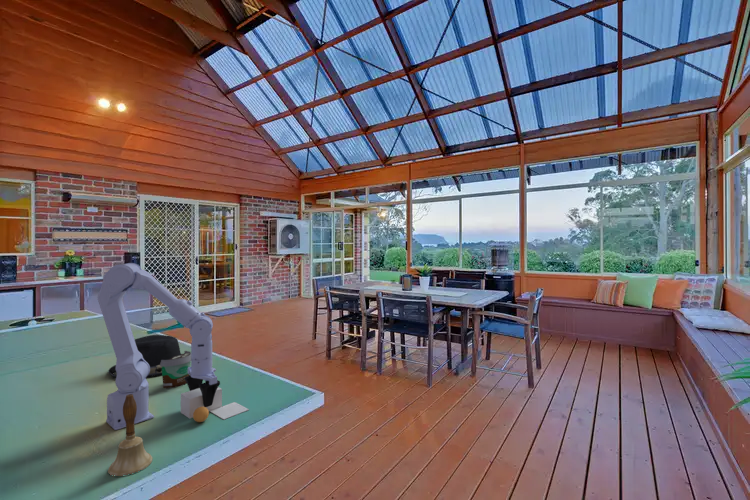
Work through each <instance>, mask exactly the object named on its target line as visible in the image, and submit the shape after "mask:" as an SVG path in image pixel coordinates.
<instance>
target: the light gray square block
mask: <svg viewBox="0 0 750 500" xmlns="http://www.w3.org/2000/svg"><path fill="white" fill-rule="evenodd" d="M249 410H250V409H249V408H247V407H245V406H244V405H241V404H239V403H238V402H235V401H233V402H230V403H228V404H225V405H222V407H219V408H216V409H214V410H211V411H209V413H211V414H213V415H215V416H217V417H219V418H220V419H221V420H223V421H224V420H226V419H229V418H232V417H235V416H237V415H239V414H242V413H245V412H248V411H249Z"/></svg>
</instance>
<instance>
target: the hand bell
mask: <svg viewBox="0 0 750 500" xmlns="http://www.w3.org/2000/svg"><path fill="white" fill-rule="evenodd" d="M136 412H137V405H136V401H135V399H134V397H133V394H129V395H126V399H125V402H124V405H123V416H124V419H125V422H126V427H125V439H123V440H121V442H119V444H118V449H117V454H116V457H115V459H114V461H113V462H112V463H111V464H110V465H109V467H108V470H107V474H108V473H109V474H110V476H111V475H113V476H112V477H114V475H115V476H123V475H128V474H132V473H135V472H137V473H139V472H138V471H140V470H142V471H143V470H145V469H146V468H148V467H149V466H150V465H151V464H152V462H153V456H152V454H151V453H149V452H147V451H146V450H145V447H144V442H143V438H142V437H140V436H136V430H135V427H136V426H135V424H134V421H135V417H136ZM140 472H141V471H140ZM109 474H108V475H109ZM135 474H136V473H135ZM132 475H133V474H132Z"/></svg>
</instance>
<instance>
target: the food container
mask: <svg viewBox="0 0 750 500" xmlns="http://www.w3.org/2000/svg"><path fill="white" fill-rule="evenodd" d="M181 354H182V355H179V356H174V357H172V358H171V359H169V360H161V363H160V366H162V374H161V375H162V378H161V379H162V387H163V388H164V389H172V388H173V389H174V388H178V387H182V386H184V385H186V384H187V383H186V381H185V380H184V378H185V377H187V376H189V375H190V374H188V367H191V351H188V350H184V352H183V353H181Z"/></svg>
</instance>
